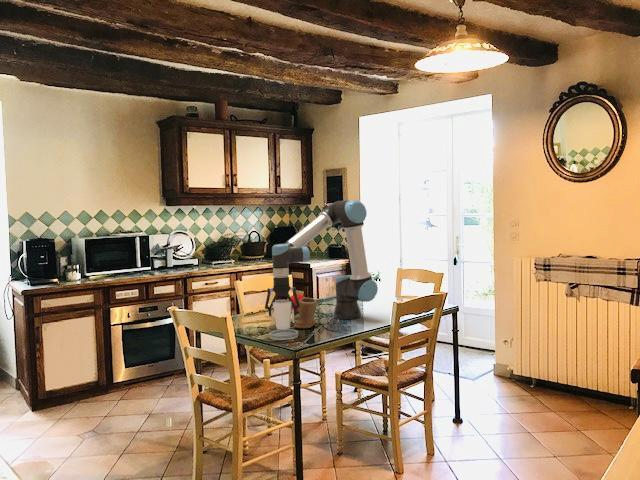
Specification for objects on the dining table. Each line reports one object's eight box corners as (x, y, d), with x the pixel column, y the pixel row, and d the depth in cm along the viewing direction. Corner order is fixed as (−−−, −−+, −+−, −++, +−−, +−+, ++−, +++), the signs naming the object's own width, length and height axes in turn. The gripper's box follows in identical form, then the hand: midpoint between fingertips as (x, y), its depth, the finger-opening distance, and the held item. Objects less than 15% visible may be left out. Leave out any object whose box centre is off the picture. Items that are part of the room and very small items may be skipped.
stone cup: (314, 330, 286) (312, 300, 285) (291, 329, 289) (290, 300, 288) (322, 323, 300) (320, 295, 299) (300, 323, 304) (299, 295, 303)
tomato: (308, 309, 339) (307, 292, 339) (305, 313, 329) (305, 295, 328) (290, 310, 340) (289, 292, 340) (287, 313, 330) (287, 295, 329)
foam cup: (290, 330, 269) (288, 303, 268) (271, 330, 271) (270, 303, 270) (295, 325, 278) (293, 299, 277) (276, 325, 280) (275, 299, 279)
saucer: (298, 332, 282) (298, 328, 282) (297, 339, 268) (297, 335, 268) (270, 333, 282) (270, 329, 282) (268, 340, 268) (267, 336, 268)
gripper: (257, 278, 269) (259, 325, 270) (303, 276, 269) (305, 323, 271) (258, 276, 276) (260, 321, 278) (304, 274, 276) (306, 320, 278)
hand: (283, 322), depth 274 cm, fingers closed on foam cup, 9 cm apart
